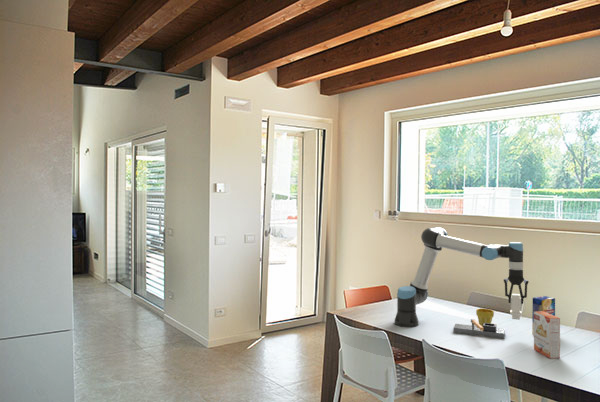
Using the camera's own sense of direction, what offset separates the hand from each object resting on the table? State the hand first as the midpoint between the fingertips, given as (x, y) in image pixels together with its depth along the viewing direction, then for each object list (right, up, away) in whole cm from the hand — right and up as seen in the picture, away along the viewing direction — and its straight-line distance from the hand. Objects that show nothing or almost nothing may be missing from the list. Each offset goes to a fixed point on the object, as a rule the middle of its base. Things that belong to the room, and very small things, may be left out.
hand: (515, 308), depth 272 cm
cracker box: (+3, -17, -28) cm, 33 cm away
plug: (-1, -6, -1) cm, 6 cm away
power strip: (-18, -17, +9) cm, 26 cm away
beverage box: (+19, -17, +6) cm, 27 cm away
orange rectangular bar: (-23, -14, -1) cm, 27 cm away
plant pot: (-8, -17, +26) cm, 32 cm away
